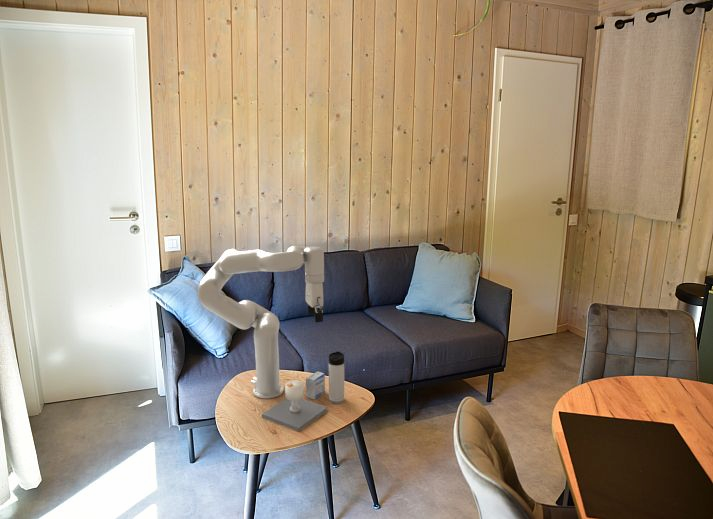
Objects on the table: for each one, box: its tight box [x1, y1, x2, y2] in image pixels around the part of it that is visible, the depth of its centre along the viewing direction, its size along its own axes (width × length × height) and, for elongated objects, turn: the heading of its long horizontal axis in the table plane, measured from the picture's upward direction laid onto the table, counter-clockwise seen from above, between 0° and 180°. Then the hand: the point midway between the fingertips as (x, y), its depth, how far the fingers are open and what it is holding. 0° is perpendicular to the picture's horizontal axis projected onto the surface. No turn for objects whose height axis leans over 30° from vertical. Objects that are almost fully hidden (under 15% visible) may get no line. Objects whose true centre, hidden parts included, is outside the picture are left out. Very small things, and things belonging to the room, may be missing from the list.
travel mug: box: [328, 350, 345, 405], centre depth 219 cm, size 6×7×20 cm
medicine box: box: [305, 371, 326, 400], centre depth 225 cm, size 8×4×9 cm, turn 150°
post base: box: [261, 398, 329, 432], centre depth 210 cm, size 18×18×7 cm
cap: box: [284, 379, 305, 401], centre depth 208 cm, size 7×7×6 cm
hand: (315, 318), depth 222 cm, fingers open, 9 cm apart
